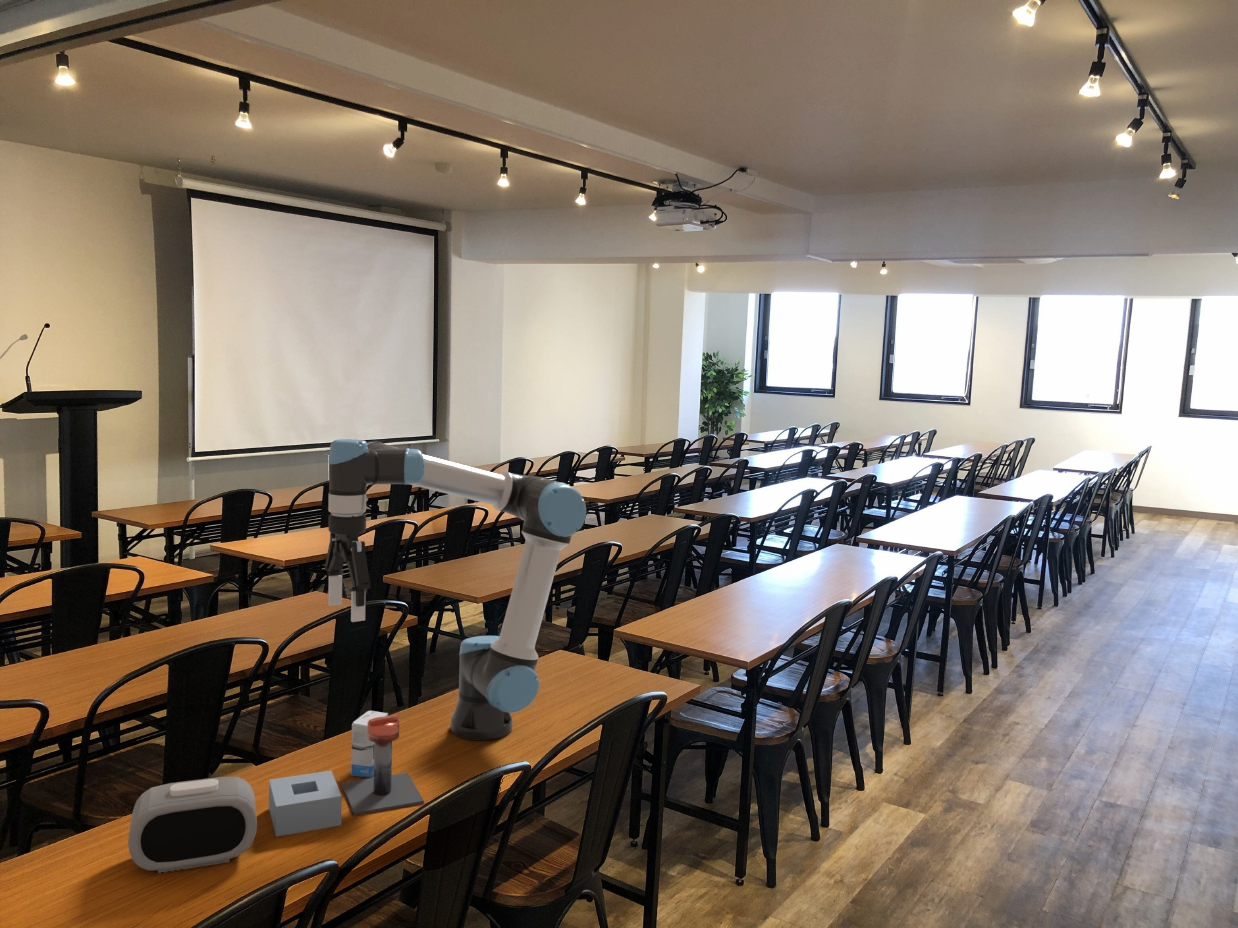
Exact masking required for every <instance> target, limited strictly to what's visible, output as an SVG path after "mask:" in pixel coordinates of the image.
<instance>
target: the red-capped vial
mask: <svg viewBox="0 0 1238 928" xmlns="http://www.w3.org/2000/svg"><path fill="white" fill-rule="evenodd" d="M399 737H400V719H399V715H398V714H396V713H395V714H391V715H388V716H386V717H377V718H373V719H370V720H369V721H368V729H367V738H368V740H370V741H372V742H374V775H373V778H374V787H373V793H374V794H375V795H379V796H383V795H387V794H389V793H391V775H393V774H392V767H393V766H392V765H393V762H392V761H393V760H392V759H393V741H396V740H398V739H399Z"/></svg>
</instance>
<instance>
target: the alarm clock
mask: <svg viewBox="0 0 1238 928" xmlns="http://www.w3.org/2000/svg"><path fill="white" fill-rule="evenodd" d="M257 819H258V818H257V808H256V798H255V792H254V789H253V787H252V785H251V784H250V783H249V782H248V781H247V780H245V779H244V778H241V777H239V776H218V777H217V776H216V777H208V778H202V779H194V780H186V781H177V782H169V783H165V784H161V785H157V786H153V787H152V786H151V787H150V788H149V789H147V790H146V791H144V792H143V793H141V795H140V796H139V797H138V799H137V800H136V801H135V804H134V807H133V810H132V814H131V819H130V820H131V821H130V825H129V833H128V839H127V840H128V842H127V845H128V852H129V855H130V857H131V860H132V861H133V862H134V863H135V864H136V865H137V866H138V868H141V869H144V870H146V871H150V872H151V871H157V873H158V874H162V873H161V872H164V873H167V872H166V871H171V872H175V871H174V870H177V871H181V870H180V869H183V870H188V869H194V868H201V867H206V866H207V867H208V866H212V865H213V866H214V865H218V864H225V863H230V861H231V859H234V858H238V857H239V856H241V855H243V854H244V853H245V852H246V851H248V849H249V848H250V846H252V844H253V842H254V840H255V837H256V834H257V828H258V821H257ZM193 867H194V868H193Z"/></svg>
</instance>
